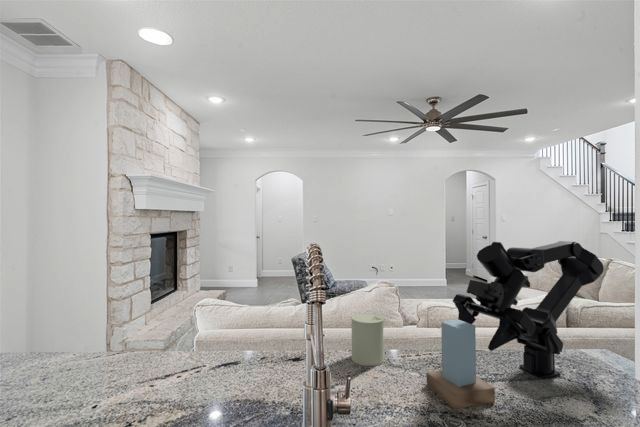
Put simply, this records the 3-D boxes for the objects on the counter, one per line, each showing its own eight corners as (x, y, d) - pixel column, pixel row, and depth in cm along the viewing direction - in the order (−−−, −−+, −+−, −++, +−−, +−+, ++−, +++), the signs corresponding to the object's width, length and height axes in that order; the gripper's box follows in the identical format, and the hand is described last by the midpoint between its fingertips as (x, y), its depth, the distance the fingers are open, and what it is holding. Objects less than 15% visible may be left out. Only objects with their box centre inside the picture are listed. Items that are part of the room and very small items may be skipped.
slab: (463, 379, 78) (463, 367, 78) (494, 402, 68) (494, 387, 68) (426, 384, 76) (426, 372, 76) (454, 408, 66) (453, 394, 66)
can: (384, 367, 85) (383, 322, 85) (349, 364, 87) (349, 320, 87) (384, 353, 94) (383, 312, 94) (352, 351, 96) (352, 310, 96)
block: (458, 372, 75) (457, 319, 76) (476, 382, 71) (475, 325, 71) (442, 376, 73) (441, 321, 74) (458, 387, 69) (457, 328, 69)
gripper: (456, 263, 85) (424, 310, 80) (524, 273, 67) (488, 334, 63) (479, 290, 88) (449, 336, 83) (550, 306, 70) (517, 366, 66)
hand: (472, 342), depth 74 cm, fingers open, 9 cm apart
